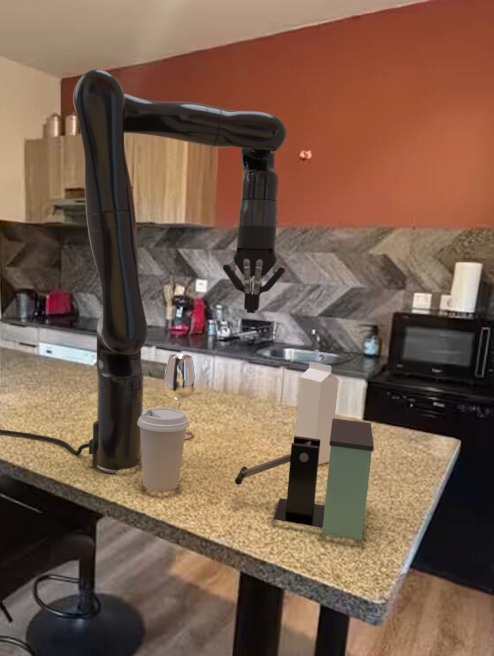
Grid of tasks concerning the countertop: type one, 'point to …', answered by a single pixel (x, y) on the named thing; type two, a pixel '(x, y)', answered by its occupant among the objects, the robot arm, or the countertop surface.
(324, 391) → the milk
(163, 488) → the coffee cup
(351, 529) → the green lidded box
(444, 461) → the countertop surface
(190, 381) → the wineglass
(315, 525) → the black lever stand
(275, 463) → the lever
